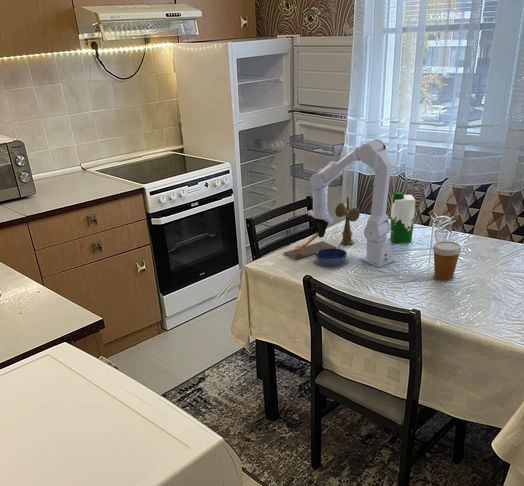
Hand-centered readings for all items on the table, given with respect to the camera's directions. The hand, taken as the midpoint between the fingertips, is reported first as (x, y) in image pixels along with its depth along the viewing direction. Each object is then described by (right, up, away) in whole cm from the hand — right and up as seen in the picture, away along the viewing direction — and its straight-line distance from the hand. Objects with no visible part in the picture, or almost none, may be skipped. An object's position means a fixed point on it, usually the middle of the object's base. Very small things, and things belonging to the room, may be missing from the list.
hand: (320, 236), depth 222 cm
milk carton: (+35, 0, +6) cm, 35 cm away
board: (-4, -6, +1) cm, 8 cm away
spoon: (-4, -4, -1) cm, 6 cm away
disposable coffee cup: (+41, -21, -28) cm, 54 cm away
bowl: (+3, -12, -10) cm, 16 cm away
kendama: (+12, -2, +6) cm, 13 cm away
